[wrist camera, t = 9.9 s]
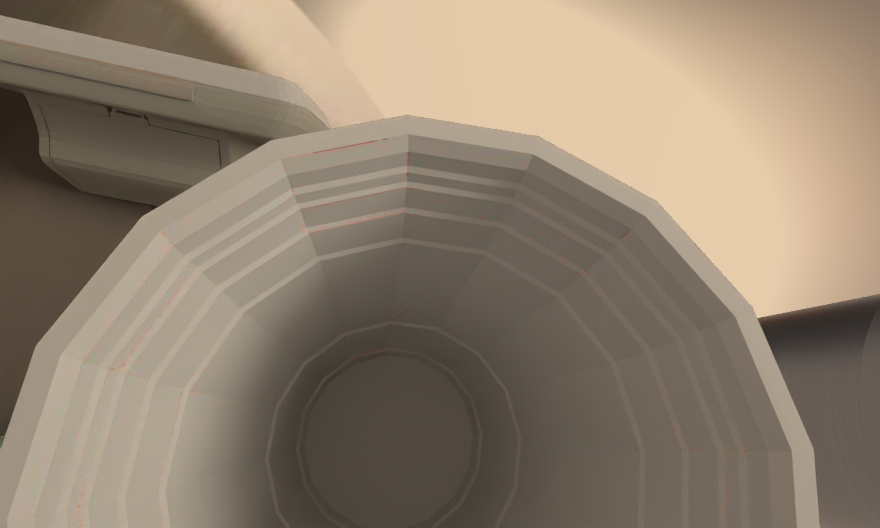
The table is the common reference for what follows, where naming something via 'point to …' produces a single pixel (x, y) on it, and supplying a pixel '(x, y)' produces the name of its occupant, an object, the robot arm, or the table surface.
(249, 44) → the table surface
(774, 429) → the plastic cup
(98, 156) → the digital clock
